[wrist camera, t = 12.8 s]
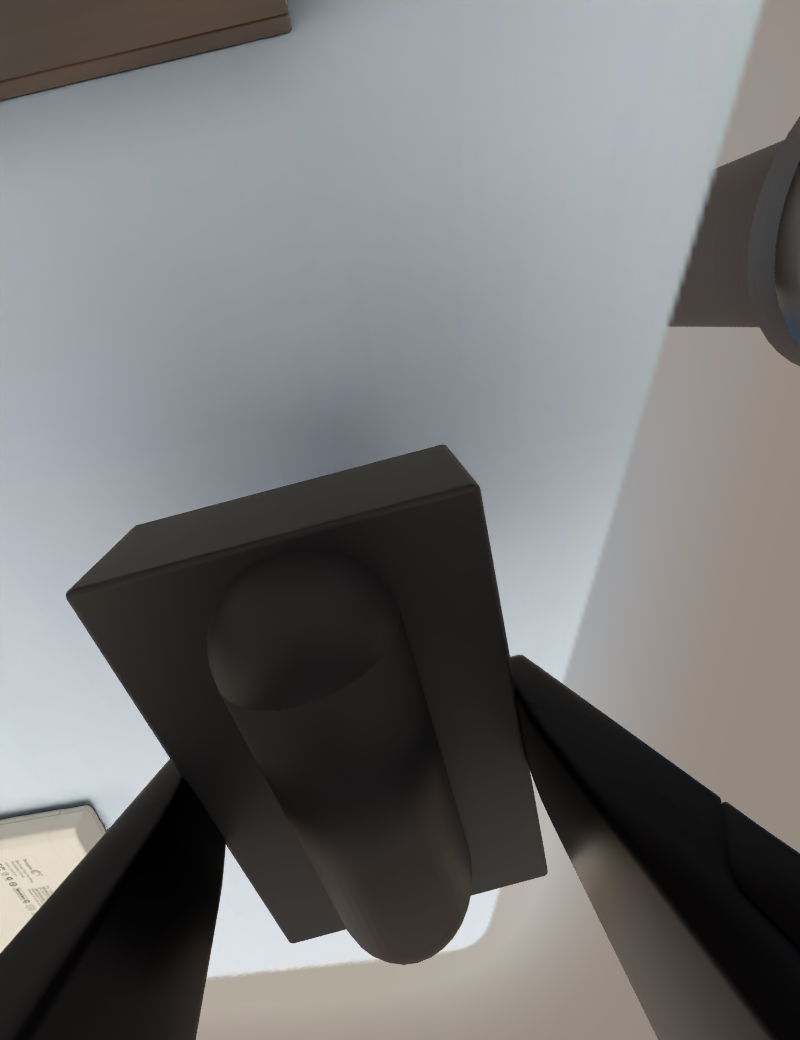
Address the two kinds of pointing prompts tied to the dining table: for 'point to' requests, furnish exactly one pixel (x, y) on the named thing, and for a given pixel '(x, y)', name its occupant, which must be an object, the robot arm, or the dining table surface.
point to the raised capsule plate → (335, 694)
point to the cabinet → (119, 36)
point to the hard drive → (40, 860)
